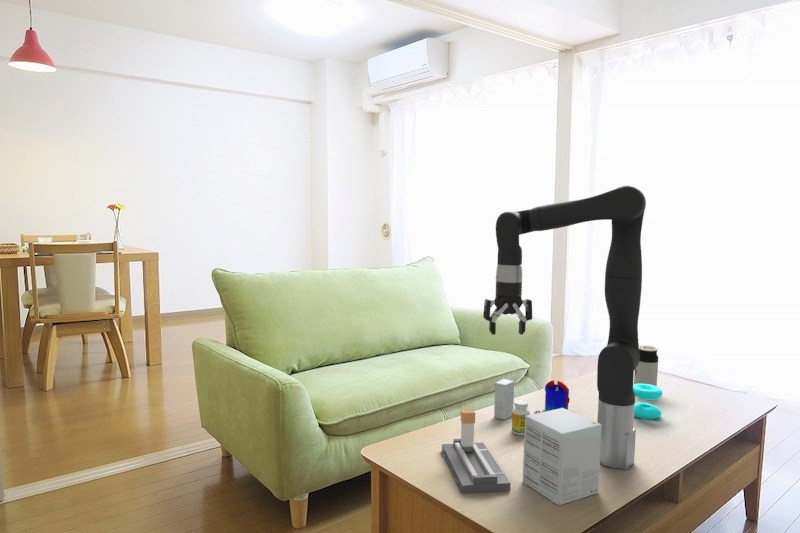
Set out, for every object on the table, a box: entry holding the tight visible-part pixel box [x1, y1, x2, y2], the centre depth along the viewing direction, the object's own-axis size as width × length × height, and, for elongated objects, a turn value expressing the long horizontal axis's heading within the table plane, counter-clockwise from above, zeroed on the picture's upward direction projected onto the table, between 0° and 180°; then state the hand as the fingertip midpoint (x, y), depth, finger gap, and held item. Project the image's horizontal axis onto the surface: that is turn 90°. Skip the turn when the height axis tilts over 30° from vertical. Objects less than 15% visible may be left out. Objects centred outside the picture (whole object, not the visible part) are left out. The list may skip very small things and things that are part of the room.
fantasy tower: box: [533, 380, 570, 414], centre depth 185 cm, size 12×12×12 cm
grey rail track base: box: [441, 438, 511, 494], centre depth 144 cm, size 24×12×4 cm, turn 7°
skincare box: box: [493, 378, 515, 421], centre depth 182 cm, size 6×4×12 cm
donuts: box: [633, 383, 663, 421], centre depth 185 cm, size 10×10×10 cm
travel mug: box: [633, 345, 659, 387], centre depth 208 cm, size 8×8×18 cm
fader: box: [460, 408, 476, 452], centre depth 150 cm, size 3×3×11 cm
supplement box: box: [522, 408, 602, 506], centre depth 134 cm, size 13×13×18 cm
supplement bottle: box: [511, 399, 531, 436], centre depth 169 cm, size 5×5×10 cm
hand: (507, 334), depth 161 cm, fingers open, 8 cm apart
